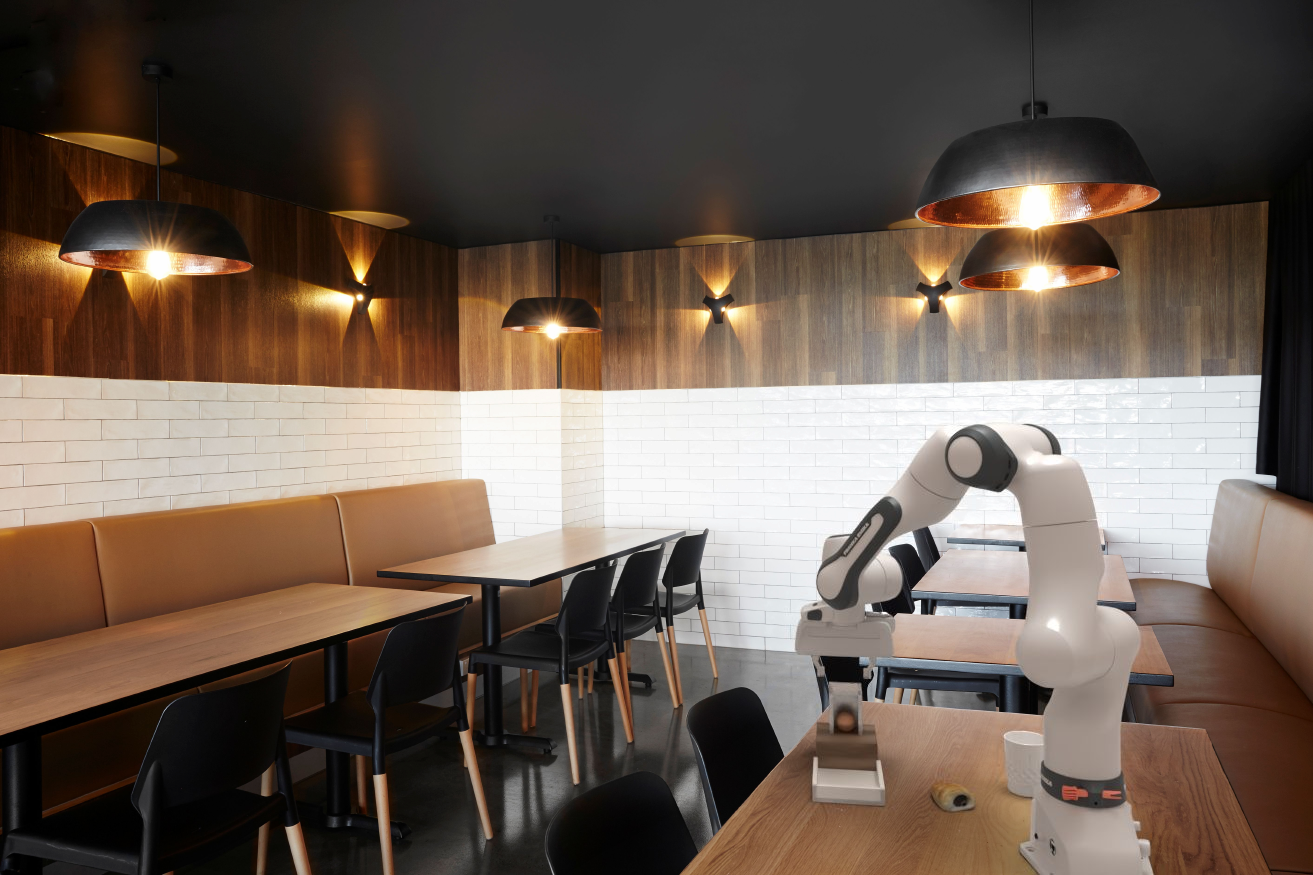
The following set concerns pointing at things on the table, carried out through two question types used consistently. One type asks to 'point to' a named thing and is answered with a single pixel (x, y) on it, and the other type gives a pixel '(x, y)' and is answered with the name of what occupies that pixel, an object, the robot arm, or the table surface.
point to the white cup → (1023, 762)
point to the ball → (845, 721)
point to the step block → (846, 748)
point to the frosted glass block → (845, 702)
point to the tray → (848, 785)
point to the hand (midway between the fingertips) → (844, 676)
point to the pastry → (952, 796)
